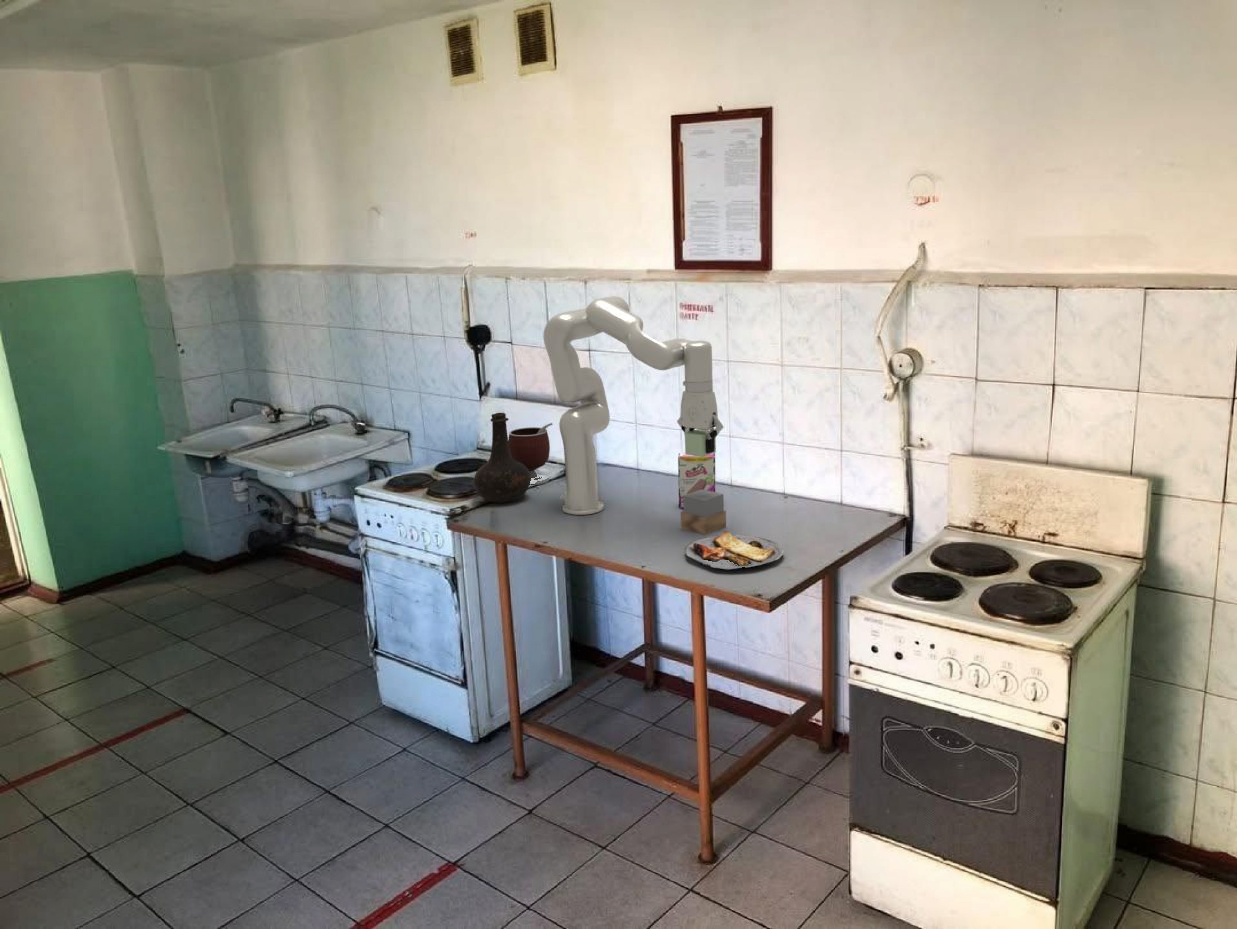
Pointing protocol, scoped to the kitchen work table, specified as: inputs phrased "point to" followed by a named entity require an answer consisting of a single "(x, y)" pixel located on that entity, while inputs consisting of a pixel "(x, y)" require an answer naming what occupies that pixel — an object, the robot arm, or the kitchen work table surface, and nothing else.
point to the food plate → (733, 550)
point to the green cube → (696, 443)
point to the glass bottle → (501, 468)
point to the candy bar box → (695, 474)
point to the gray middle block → (703, 503)
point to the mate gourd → (530, 448)
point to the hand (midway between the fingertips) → (700, 450)
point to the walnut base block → (703, 522)
